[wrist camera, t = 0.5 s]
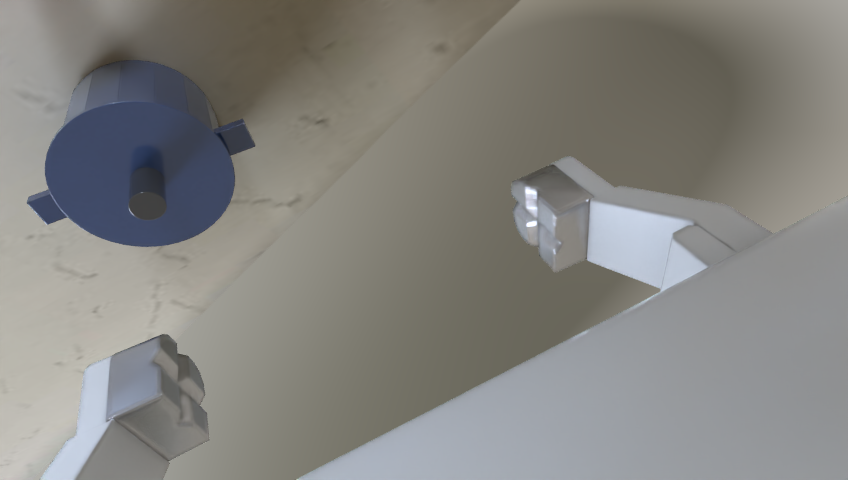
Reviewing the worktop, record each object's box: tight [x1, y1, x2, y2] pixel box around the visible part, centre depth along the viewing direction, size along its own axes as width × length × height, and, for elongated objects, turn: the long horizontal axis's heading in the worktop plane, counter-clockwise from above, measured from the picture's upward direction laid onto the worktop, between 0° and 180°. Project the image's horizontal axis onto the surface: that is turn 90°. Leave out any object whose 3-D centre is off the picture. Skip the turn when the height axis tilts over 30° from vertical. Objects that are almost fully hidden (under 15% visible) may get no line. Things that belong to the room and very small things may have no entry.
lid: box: [45, 99, 235, 247], centre depth 40 cm, size 14×14×5 cm
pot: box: [27, 60, 255, 225], centre depth 45 cm, size 13×18×10 cm
